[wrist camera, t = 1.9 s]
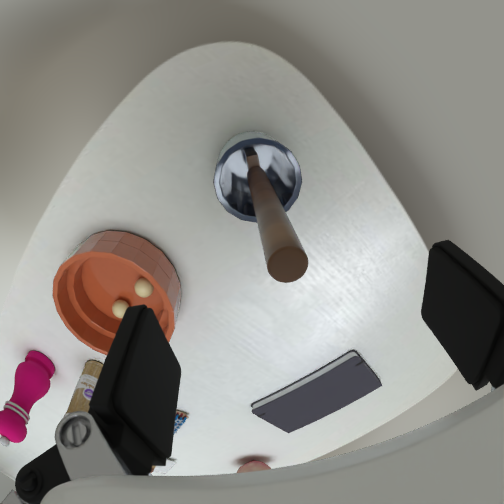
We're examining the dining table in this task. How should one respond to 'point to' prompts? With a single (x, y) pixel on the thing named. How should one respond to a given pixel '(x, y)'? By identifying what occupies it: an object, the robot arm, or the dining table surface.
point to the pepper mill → (25, 396)
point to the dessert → (164, 467)
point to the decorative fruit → (253, 467)
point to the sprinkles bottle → (85, 387)
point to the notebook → (318, 393)
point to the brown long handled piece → (274, 226)
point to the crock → (235, 171)
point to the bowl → (113, 286)
